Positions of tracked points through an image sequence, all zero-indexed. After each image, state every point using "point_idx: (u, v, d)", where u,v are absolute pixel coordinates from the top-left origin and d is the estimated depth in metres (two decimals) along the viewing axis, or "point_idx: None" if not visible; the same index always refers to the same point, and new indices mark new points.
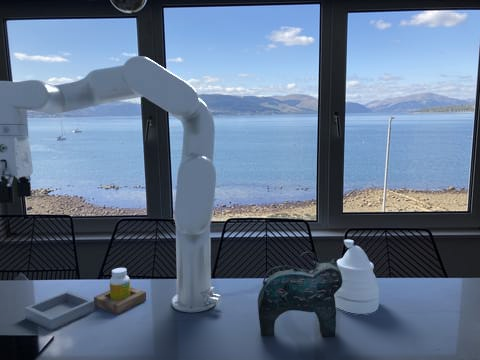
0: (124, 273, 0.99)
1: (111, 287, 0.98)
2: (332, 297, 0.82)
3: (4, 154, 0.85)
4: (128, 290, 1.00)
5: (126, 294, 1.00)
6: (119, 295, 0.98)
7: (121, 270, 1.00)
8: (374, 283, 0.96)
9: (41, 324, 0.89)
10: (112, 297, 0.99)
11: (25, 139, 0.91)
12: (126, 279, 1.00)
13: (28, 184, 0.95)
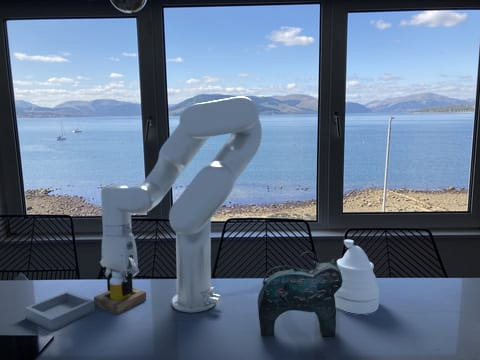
0: None
1: (111, 287, 0.98)
2: (332, 297, 0.82)
3: (131, 250, 0.97)
4: None
5: None
6: (119, 295, 0.98)
7: None
8: (374, 283, 0.96)
9: (41, 324, 0.89)
10: (112, 297, 0.99)
11: None
12: None
13: None
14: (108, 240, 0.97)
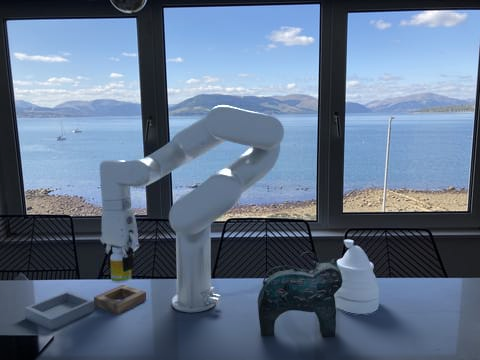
0: None
1: (112, 263, 0.98)
2: (332, 297, 0.82)
3: (131, 225, 0.96)
4: None
5: None
6: (120, 271, 0.98)
7: None
8: (374, 283, 0.96)
9: (41, 324, 0.89)
10: (113, 273, 0.98)
11: None
12: None
13: None
14: (108, 215, 0.97)
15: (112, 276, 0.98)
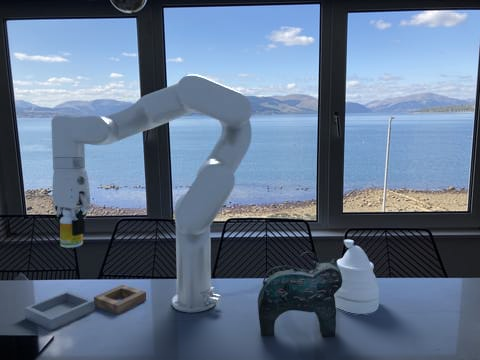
0: None
1: (61, 226, 0.91)
2: (332, 297, 0.82)
3: (82, 186, 0.90)
4: None
5: (77, 235, 0.93)
6: (69, 235, 0.91)
7: None
8: (374, 283, 0.96)
9: (41, 324, 0.89)
10: (61, 237, 0.92)
11: None
12: None
13: None
14: (58, 174, 0.90)
15: (61, 240, 0.92)
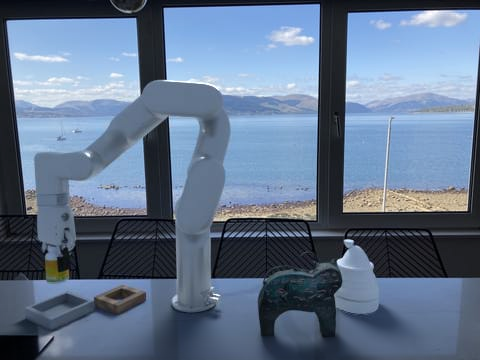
0: None
1: (46, 263, 0.91)
2: (332, 297, 0.82)
3: (67, 222, 0.89)
4: None
5: None
6: (54, 272, 0.90)
7: None
8: (374, 283, 0.96)
9: (41, 324, 0.89)
10: (47, 273, 0.91)
11: None
12: None
13: None
14: (42, 211, 0.89)
15: (46, 277, 0.91)
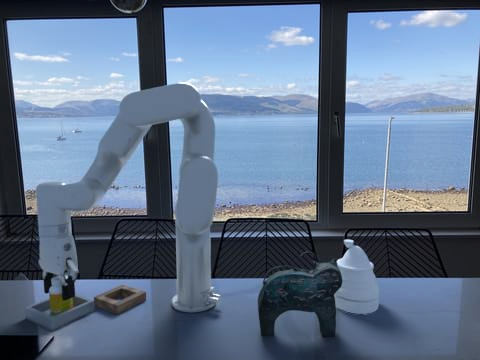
0: None
1: (50, 297, 0.92)
2: (332, 297, 0.82)
3: (69, 252, 0.90)
4: (69, 299, 0.93)
5: (67, 303, 0.93)
6: (58, 305, 0.91)
7: None
8: (374, 283, 0.96)
9: (41, 324, 0.89)
10: (51, 307, 0.92)
11: None
12: None
13: None
14: (44, 241, 0.90)
15: (51, 310, 0.92)
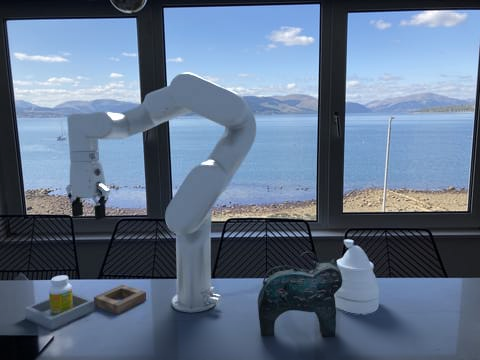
0: (64, 281, 0.92)
1: (50, 297, 0.91)
2: (332, 297, 0.82)
3: (99, 177, 0.99)
4: (69, 299, 0.93)
5: (67, 304, 0.93)
6: (58, 305, 0.91)
7: (62, 278, 0.93)
8: (374, 283, 0.96)
9: (41, 324, 0.89)
10: (51, 307, 0.92)
11: None
12: (67, 288, 0.93)
13: (81, 204, 1.05)
14: (75, 167, 0.99)
15: (51, 310, 0.92)
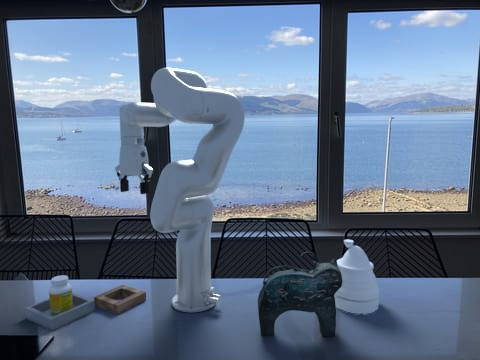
0: (64, 281, 0.92)
1: (50, 297, 0.91)
2: (332, 297, 0.82)
3: (144, 158, 1.18)
4: (69, 299, 0.93)
5: (67, 304, 0.93)
6: (58, 305, 0.91)
7: (62, 278, 0.93)
8: (374, 283, 0.96)
9: (41, 324, 0.89)
10: (51, 307, 0.92)
11: None
12: (67, 288, 0.93)
13: (128, 181, 1.25)
14: (125, 150, 1.18)
15: (51, 310, 0.92)
